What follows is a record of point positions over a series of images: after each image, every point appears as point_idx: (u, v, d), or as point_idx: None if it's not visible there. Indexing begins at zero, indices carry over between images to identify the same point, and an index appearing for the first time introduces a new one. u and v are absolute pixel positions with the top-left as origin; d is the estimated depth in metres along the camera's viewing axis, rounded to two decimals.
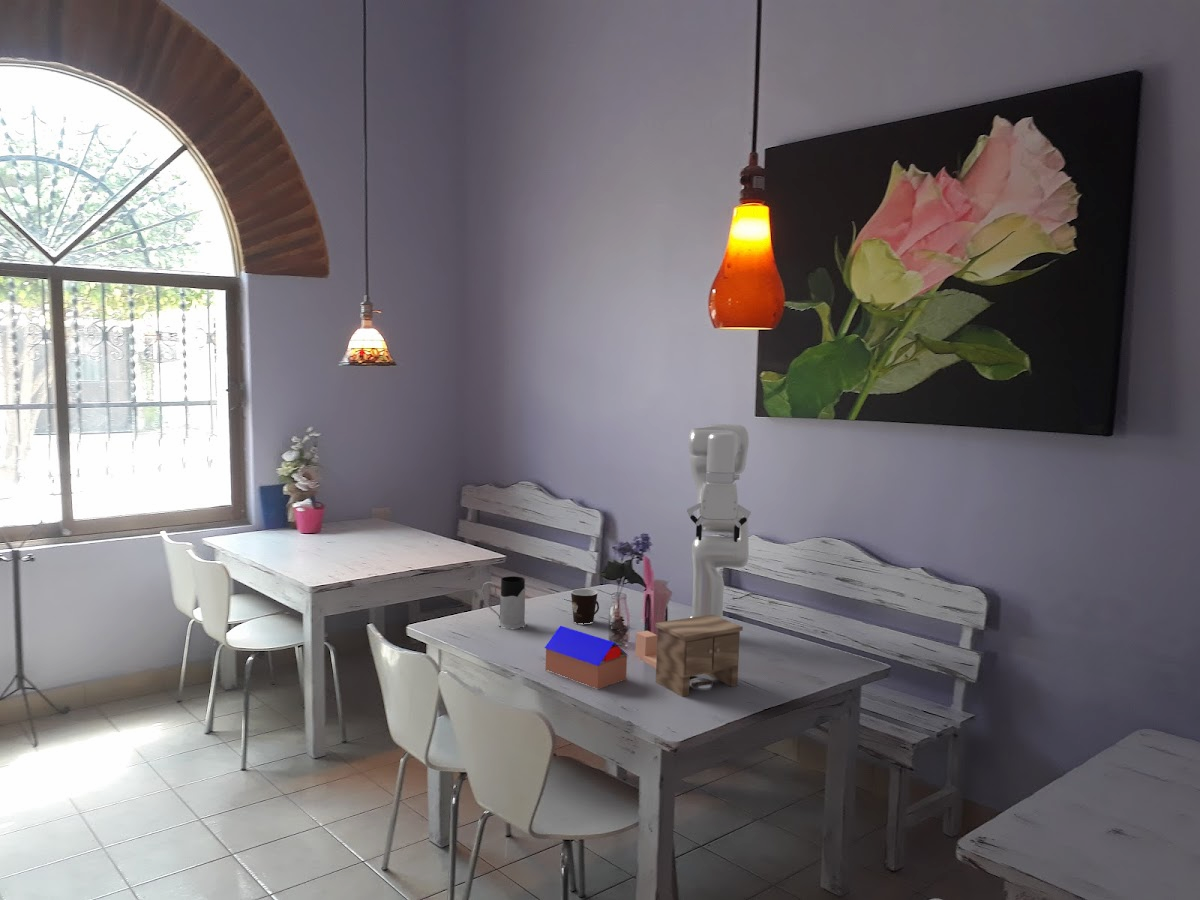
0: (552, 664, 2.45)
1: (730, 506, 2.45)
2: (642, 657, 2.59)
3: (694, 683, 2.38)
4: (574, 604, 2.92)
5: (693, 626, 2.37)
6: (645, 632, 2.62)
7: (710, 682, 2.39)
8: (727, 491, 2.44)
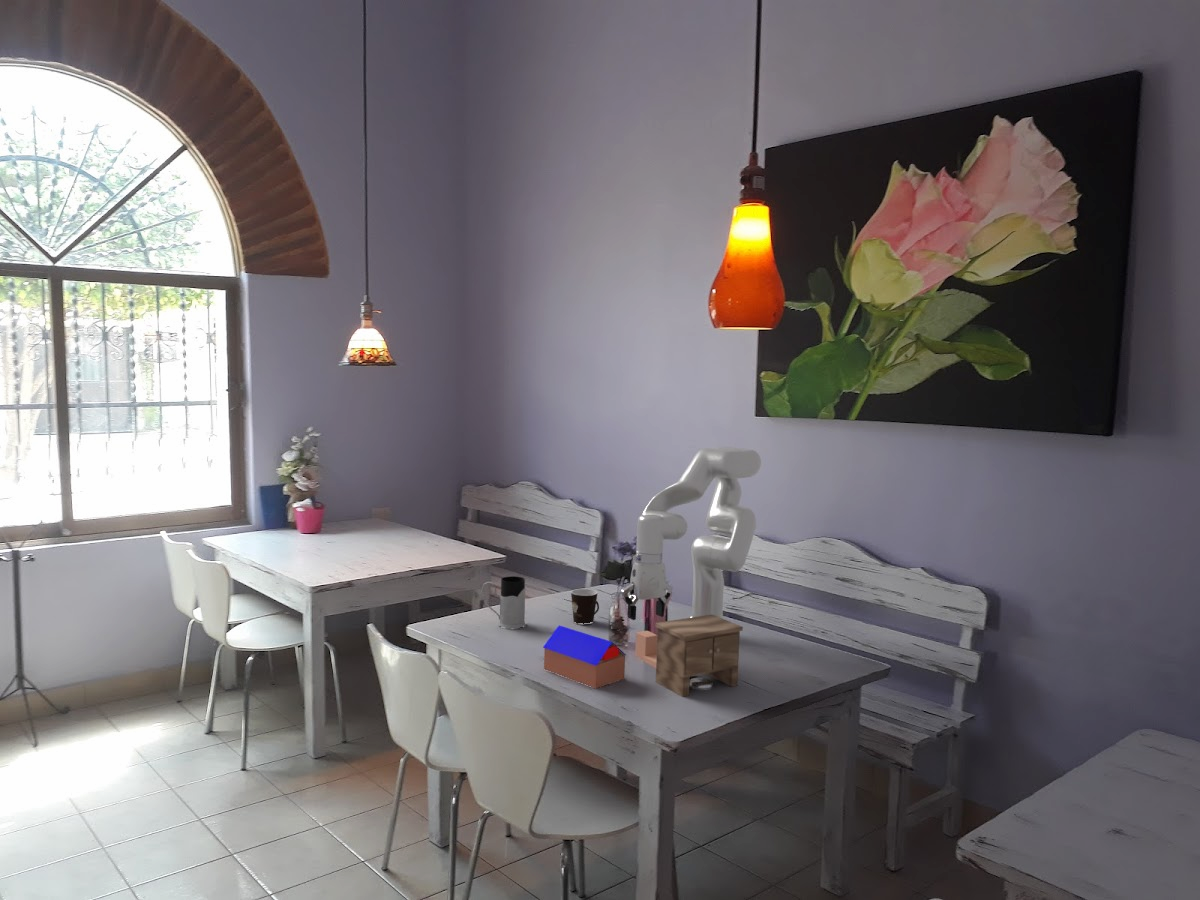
0: (550, 664, 2.46)
1: None
2: (642, 657, 2.59)
3: (694, 683, 2.38)
4: (574, 604, 2.92)
5: (693, 626, 2.37)
6: (645, 632, 2.62)
7: (710, 682, 2.39)
8: None
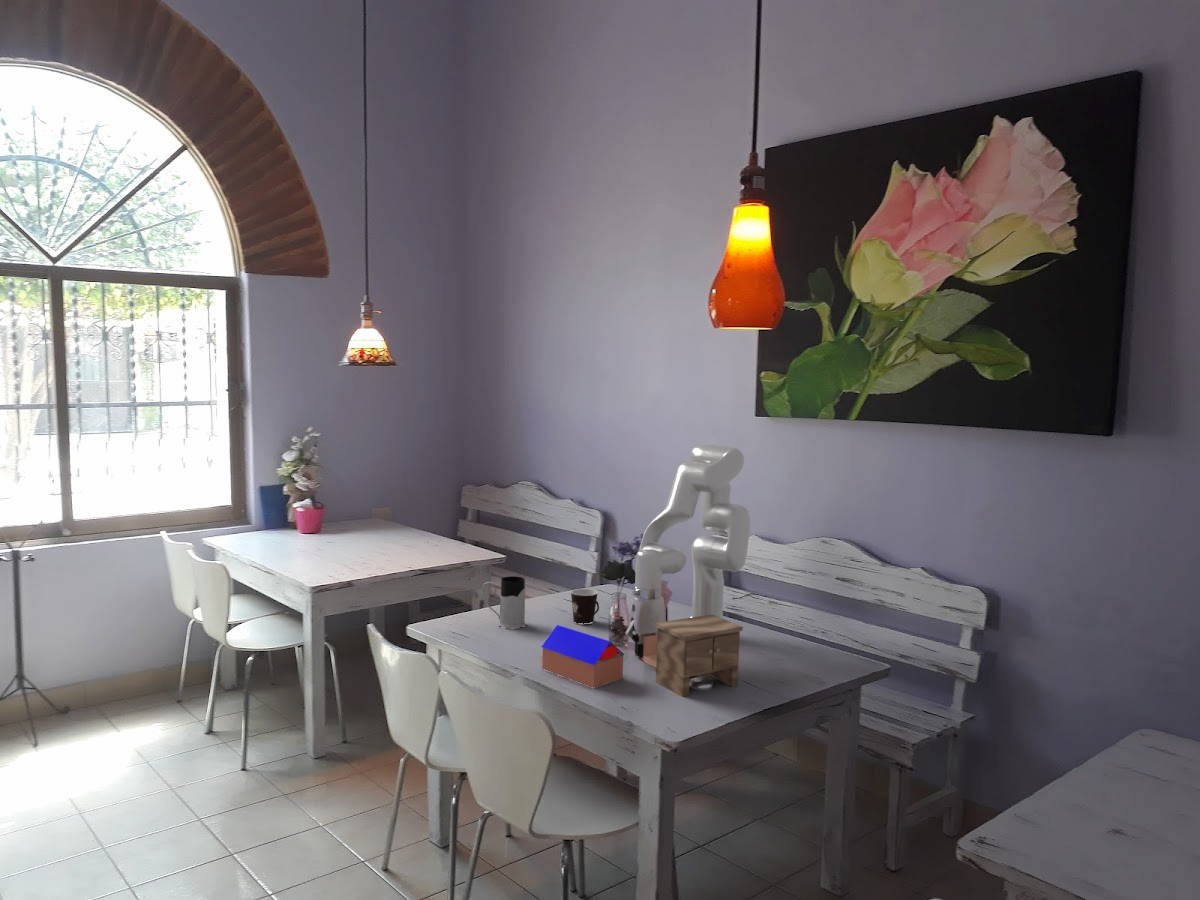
0: (549, 663, 2.46)
1: None
2: (642, 657, 2.59)
3: (695, 683, 2.37)
4: (574, 604, 2.92)
5: (693, 626, 2.37)
6: None
7: (710, 681, 2.39)
8: None
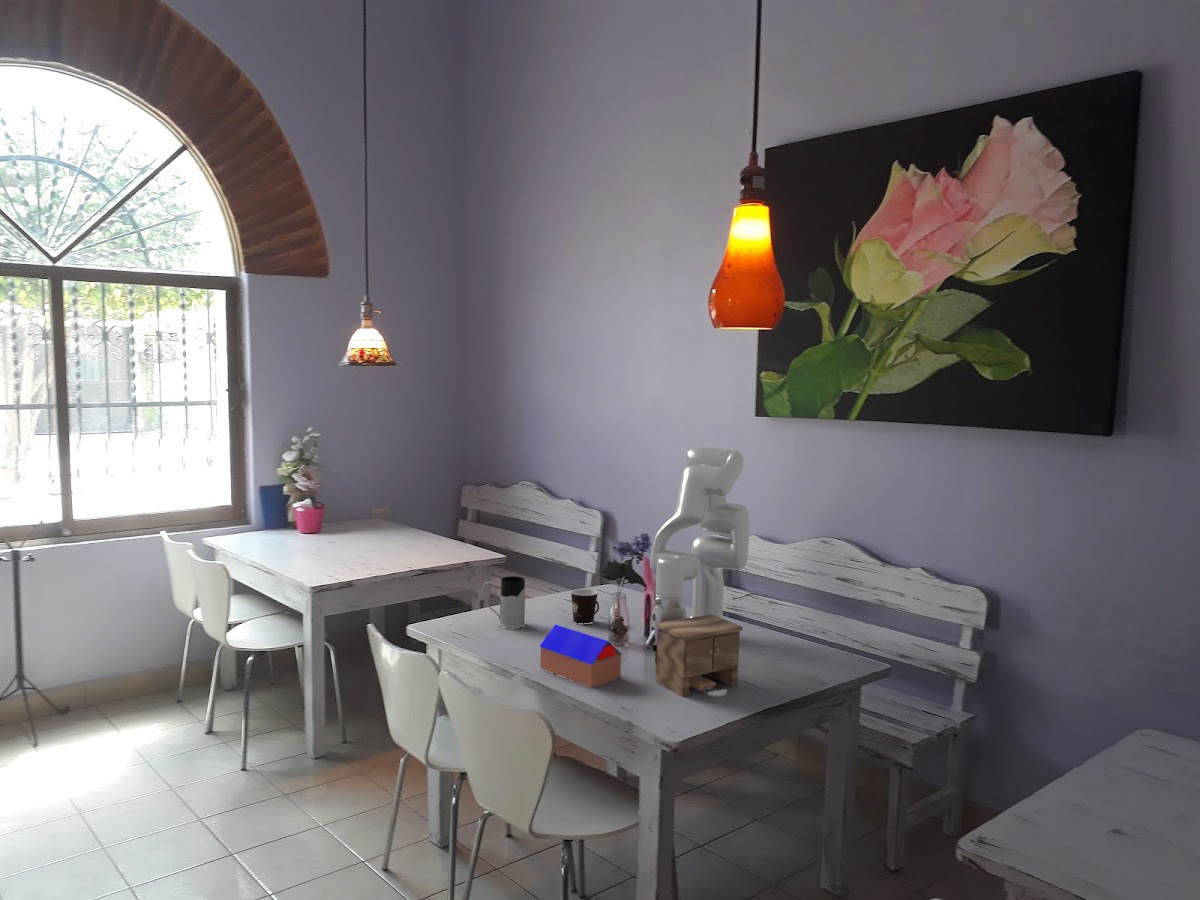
0: (547, 662, 2.46)
1: None
2: None
3: (710, 691, 2.32)
4: (574, 604, 2.92)
5: (693, 626, 2.37)
6: None
7: (724, 688, 2.34)
8: None
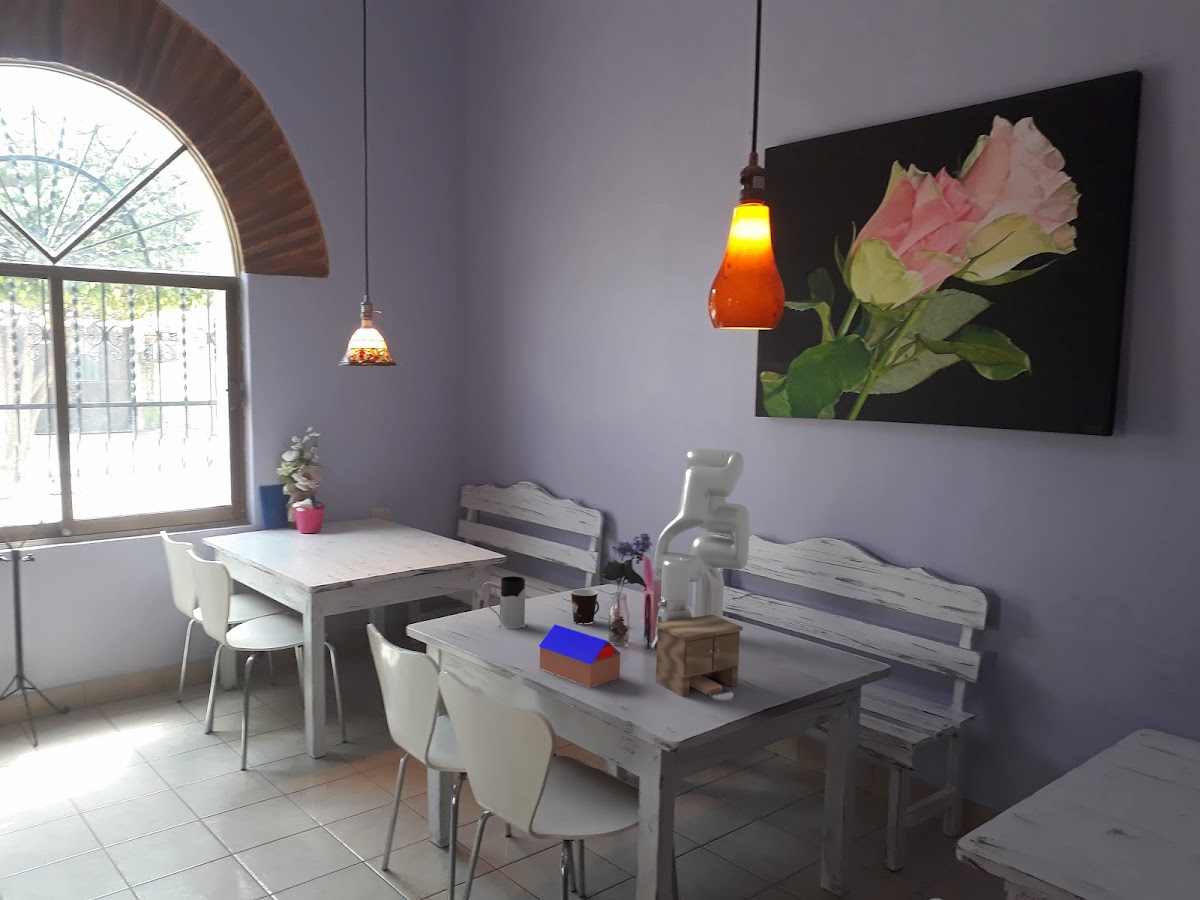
0: (546, 662, 2.47)
1: None
2: None
3: (716, 694, 2.30)
4: (574, 604, 2.92)
5: (693, 626, 2.37)
6: None
7: (730, 692, 2.32)
8: None
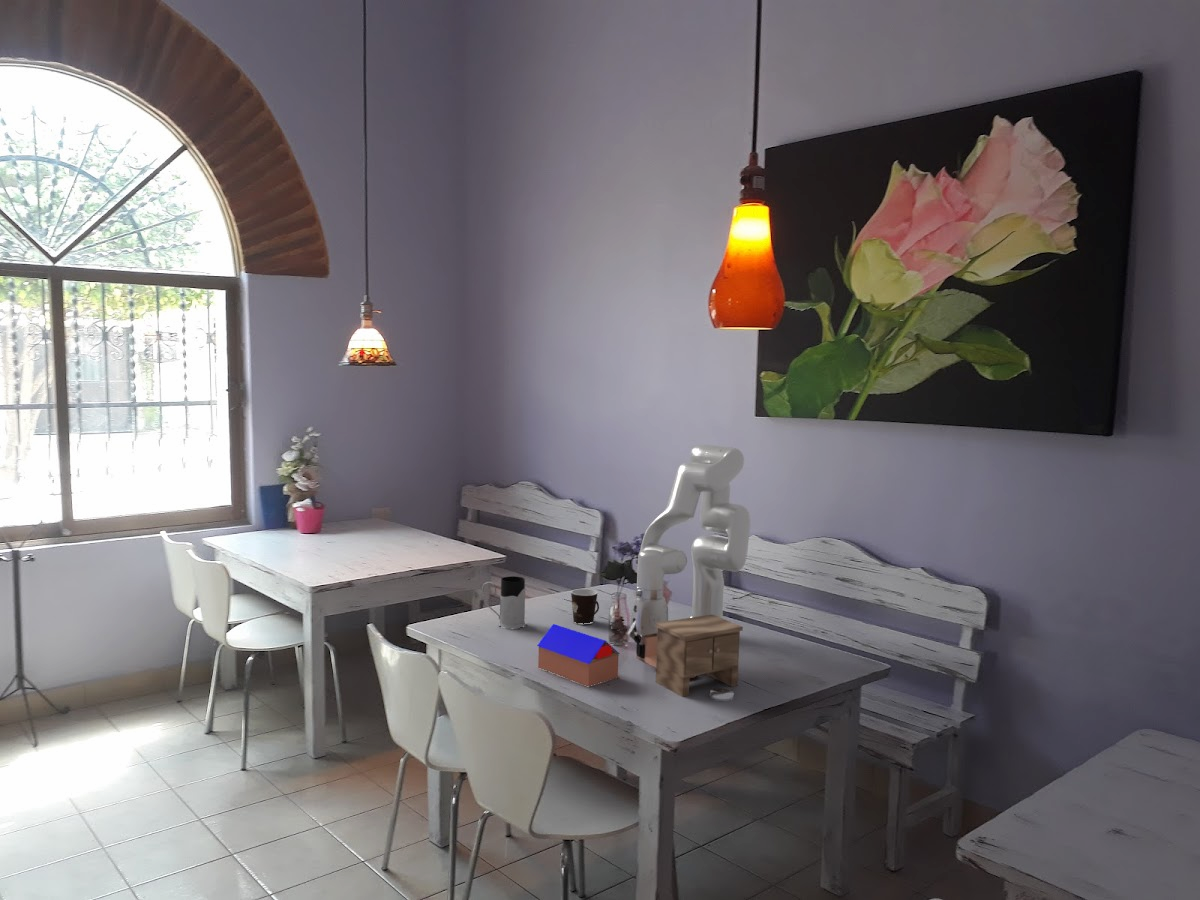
0: (544, 662, 2.47)
1: None
2: None
3: (716, 694, 2.30)
4: (574, 604, 2.92)
5: (693, 626, 2.37)
6: None
7: (731, 692, 2.32)
8: None
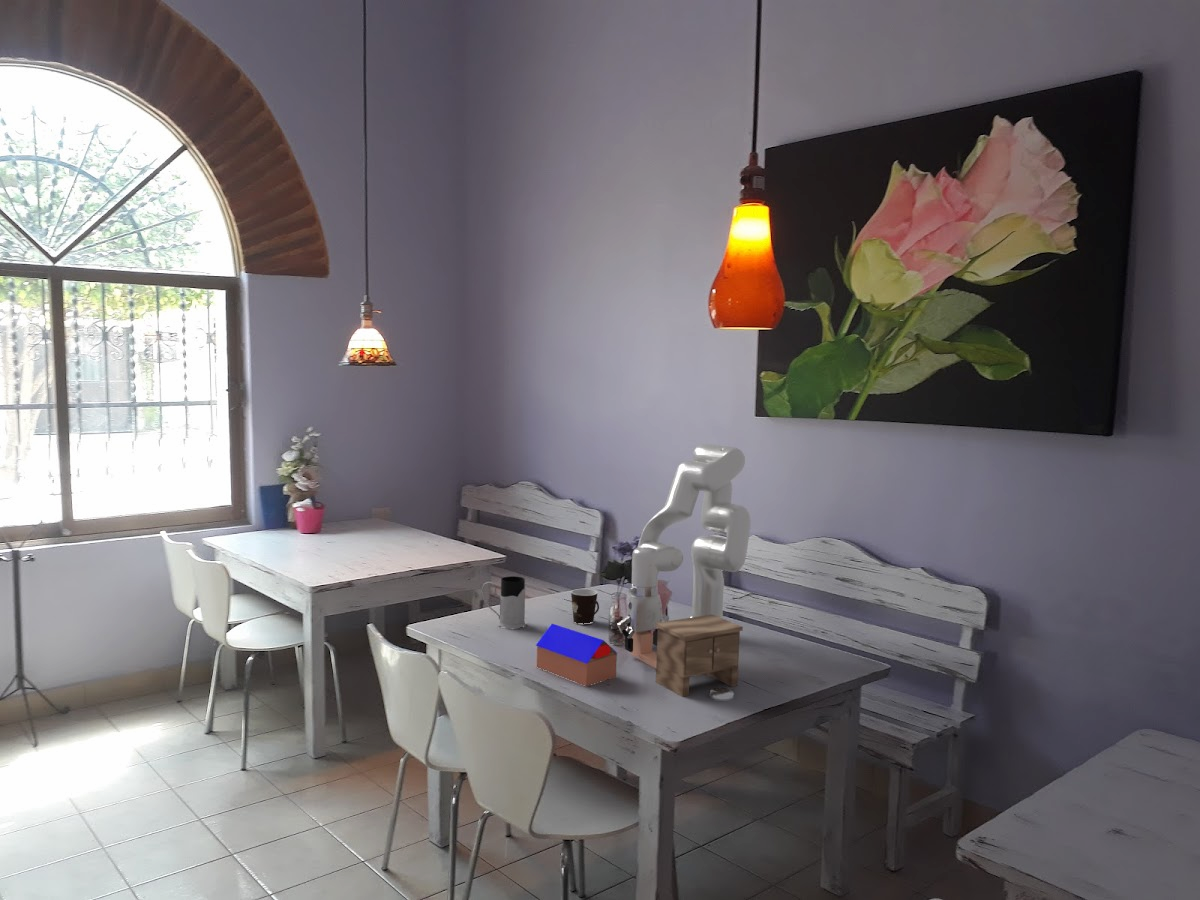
0: (543, 661, 2.47)
1: None
2: (638, 655, 2.61)
3: (717, 695, 2.30)
4: (574, 604, 2.92)
5: (693, 626, 2.37)
6: None
7: (730, 691, 2.32)
8: None
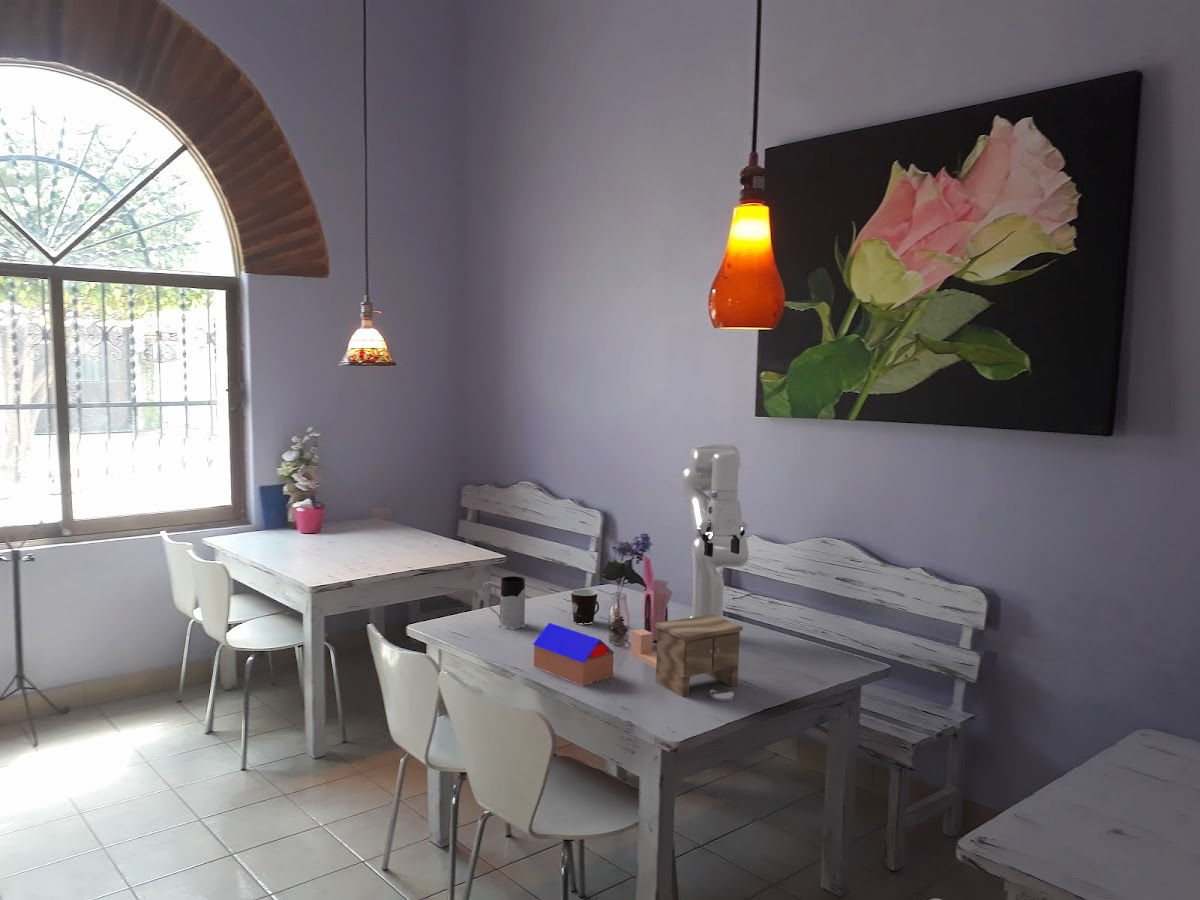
0: (540, 660, 2.48)
1: None
2: (638, 655, 2.61)
3: (722, 694, 2.29)
4: (574, 604, 2.92)
5: (693, 626, 2.37)
6: (641, 630, 2.63)
7: (728, 690, 2.33)
8: None
